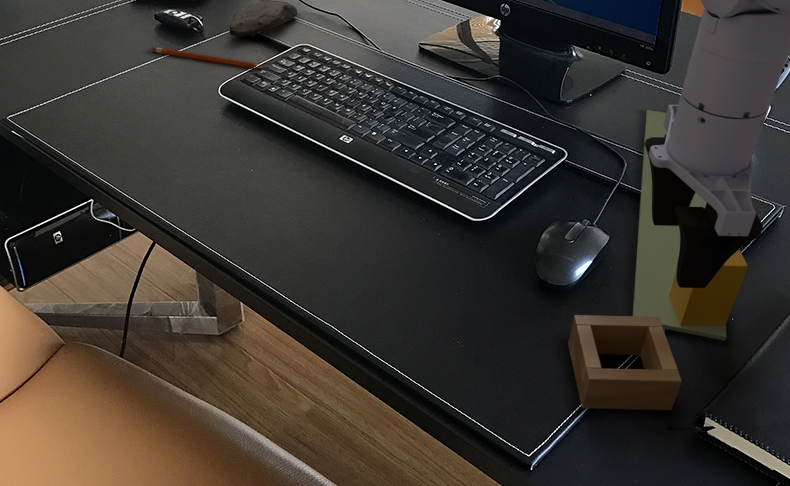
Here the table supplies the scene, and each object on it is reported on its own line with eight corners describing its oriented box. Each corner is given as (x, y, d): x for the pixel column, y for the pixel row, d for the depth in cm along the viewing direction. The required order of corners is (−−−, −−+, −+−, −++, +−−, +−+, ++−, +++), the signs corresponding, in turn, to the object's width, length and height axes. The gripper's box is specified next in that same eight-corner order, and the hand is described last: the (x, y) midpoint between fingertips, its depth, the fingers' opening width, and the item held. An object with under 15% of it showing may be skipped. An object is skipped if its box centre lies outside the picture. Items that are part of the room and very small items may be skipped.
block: (725, 326, 70) (748, 266, 66) (680, 325, 70) (700, 265, 66) (711, 295, 73) (732, 236, 69) (668, 295, 73) (687, 235, 69)
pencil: (155, 50, 114) (154, 46, 113) (267, 69, 110) (267, 64, 109) (152, 52, 113) (151, 48, 113) (265, 71, 109) (264, 66, 109)
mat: (725, 340, 69) (726, 336, 69) (632, 322, 71) (633, 318, 70) (711, 122, 99) (712, 119, 99) (646, 113, 101) (647, 109, 101)
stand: (671, 410, 63) (682, 381, 61) (581, 408, 63) (589, 379, 61) (650, 345, 69) (659, 316, 66) (567, 343, 69) (573, 314, 66)
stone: (289, 8, 125) (302, -11, 121) (302, 42, 124) (315, 25, 120) (213, 10, 118) (224, -10, 114) (226, 46, 117) (238, 28, 113)
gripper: (641, 51, 59) (609, 198, 68) (696, 153, 48) (648, 315, 56) (735, 53, 59) (690, 200, 68) (812, 156, 48) (747, 317, 56)
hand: (677, 252), depth 62 cm, fingers open, 7 cm apart
